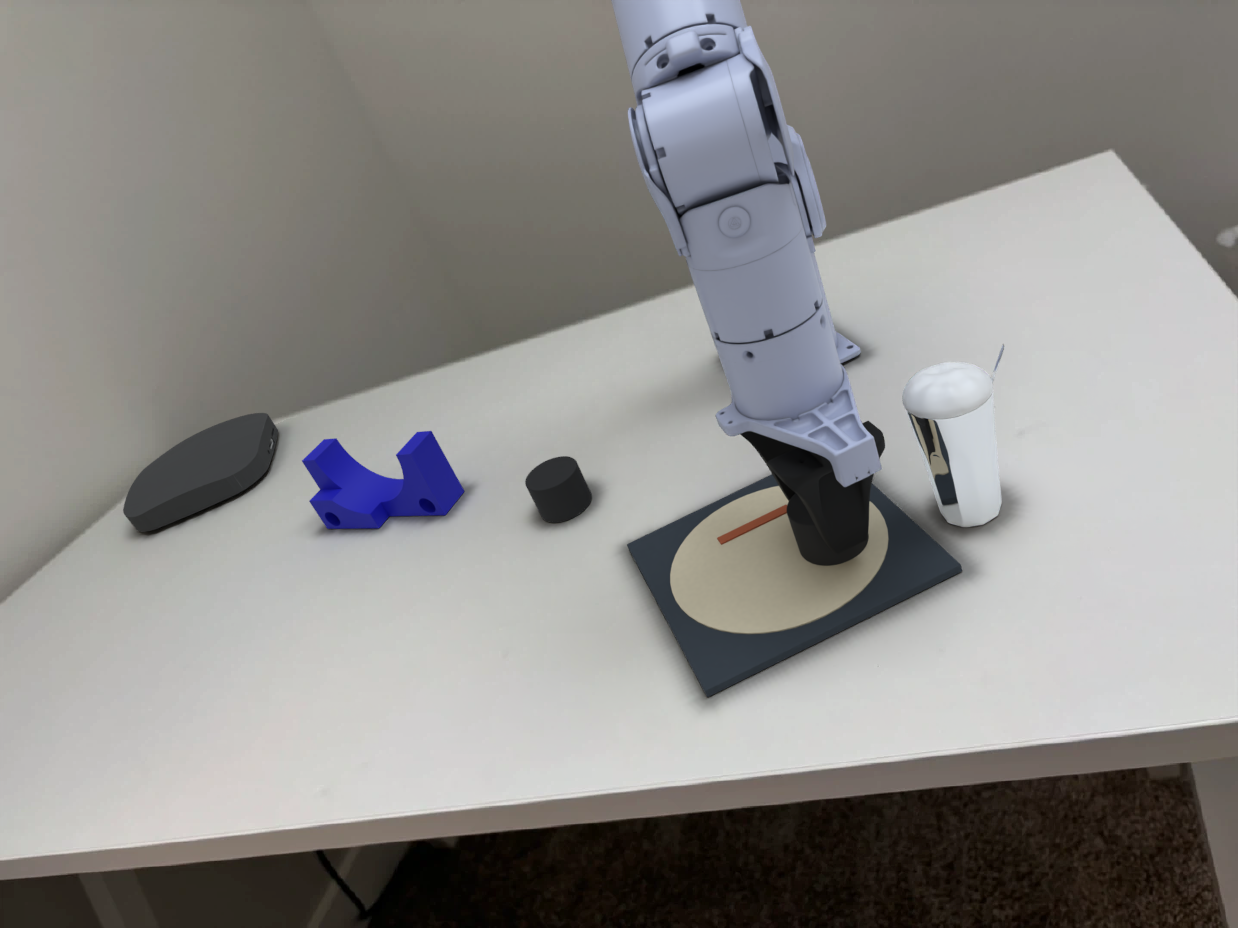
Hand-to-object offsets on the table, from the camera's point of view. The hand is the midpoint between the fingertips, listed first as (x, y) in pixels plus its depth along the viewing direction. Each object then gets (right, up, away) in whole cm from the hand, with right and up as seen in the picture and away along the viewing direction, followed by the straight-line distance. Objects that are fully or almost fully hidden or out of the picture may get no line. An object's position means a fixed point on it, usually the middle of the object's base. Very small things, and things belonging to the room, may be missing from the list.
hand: (829, 523), depth 54 cm
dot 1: (-16, 0, +15) cm, 22 cm away
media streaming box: (-54, +2, +44) cm, 69 cm away
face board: (-3, -2, +2) cm, 4 cm away
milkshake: (+8, +1, 0) cm, 8 cm away
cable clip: (-30, -1, +24) cm, 39 cm away
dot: (0, -1, +1) cm, 1 cm away
